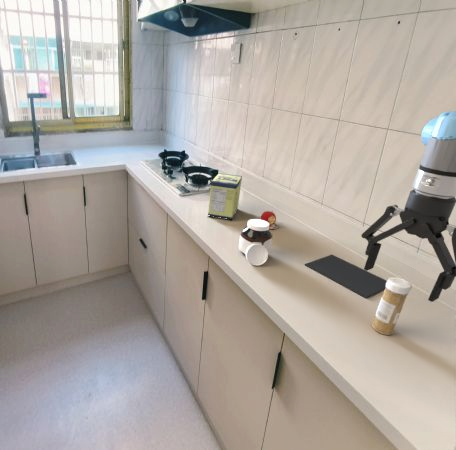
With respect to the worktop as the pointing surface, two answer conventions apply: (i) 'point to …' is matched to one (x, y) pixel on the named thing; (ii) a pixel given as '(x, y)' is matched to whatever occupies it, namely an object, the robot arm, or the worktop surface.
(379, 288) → the mat
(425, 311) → the worktop surface
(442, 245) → the robot arm
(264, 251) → the spread jar
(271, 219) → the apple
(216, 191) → the protein box
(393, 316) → the spice jar
